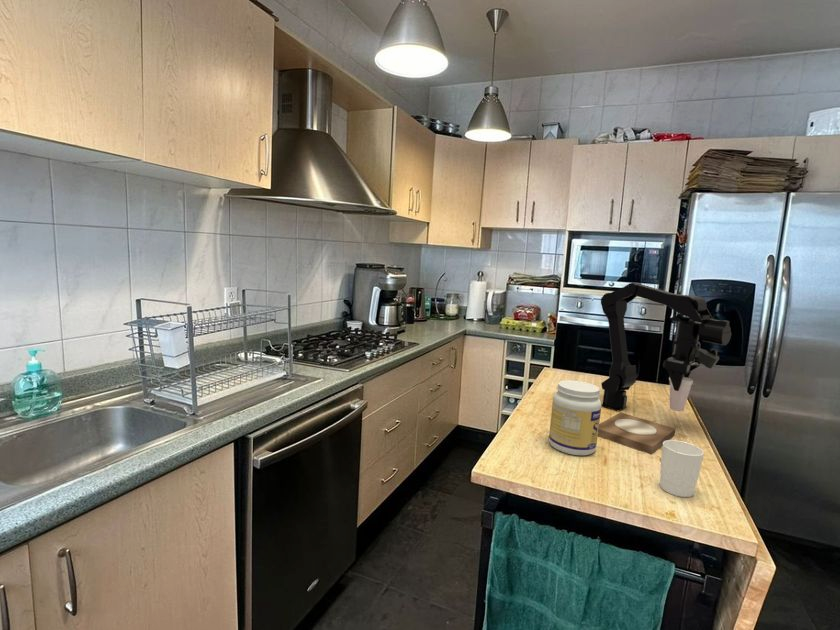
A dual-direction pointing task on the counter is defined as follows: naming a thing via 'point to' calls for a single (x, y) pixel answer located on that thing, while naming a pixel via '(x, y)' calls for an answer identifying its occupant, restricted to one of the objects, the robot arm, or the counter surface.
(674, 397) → the smoothie
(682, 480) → the white cup
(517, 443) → the counter surface
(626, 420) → the walnut base
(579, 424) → the supplement tub
